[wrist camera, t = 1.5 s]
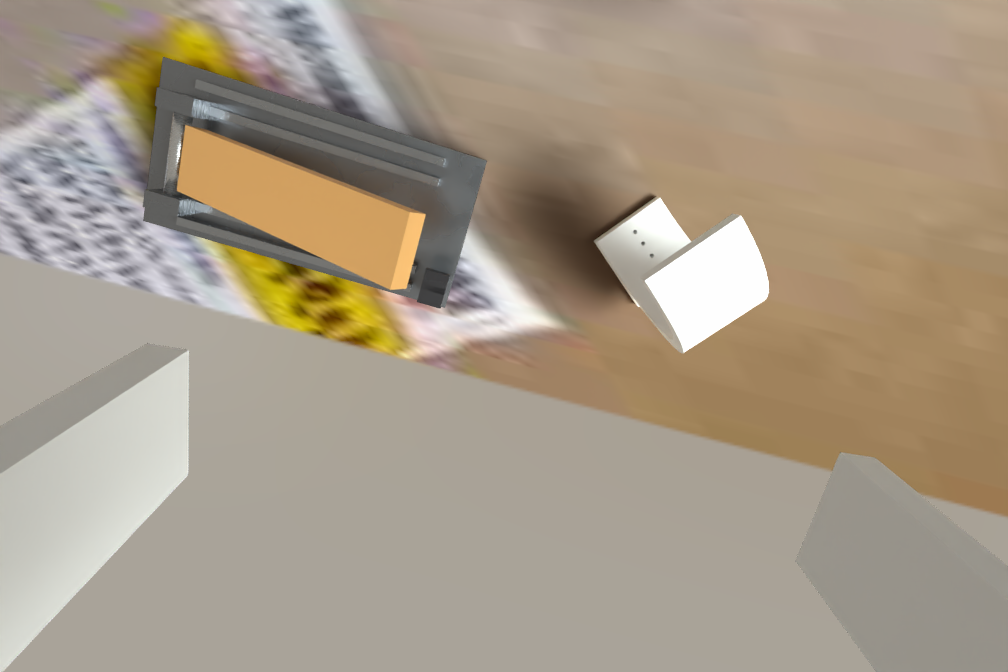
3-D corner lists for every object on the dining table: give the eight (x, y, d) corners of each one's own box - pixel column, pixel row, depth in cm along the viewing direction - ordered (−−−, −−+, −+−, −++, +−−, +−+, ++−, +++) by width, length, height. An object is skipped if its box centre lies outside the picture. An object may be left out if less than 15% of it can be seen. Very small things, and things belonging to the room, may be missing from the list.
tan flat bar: (196, 192, 27) (176, 190, 26) (205, 129, 26) (185, 124, 25) (406, 288, 22) (390, 289, 21) (425, 214, 21) (410, 212, 20)
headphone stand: (656, 196, 34) (741, 214, 23) (704, 275, 36) (807, 331, 24) (592, 240, 35) (644, 280, 23) (642, 316, 36) (714, 389, 25)
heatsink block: (192, 212, 34) (111, 226, 26) (212, 72, 31) (129, 46, 24) (450, 287, 35) (441, 320, 28) (487, 160, 33) (486, 160, 26)
